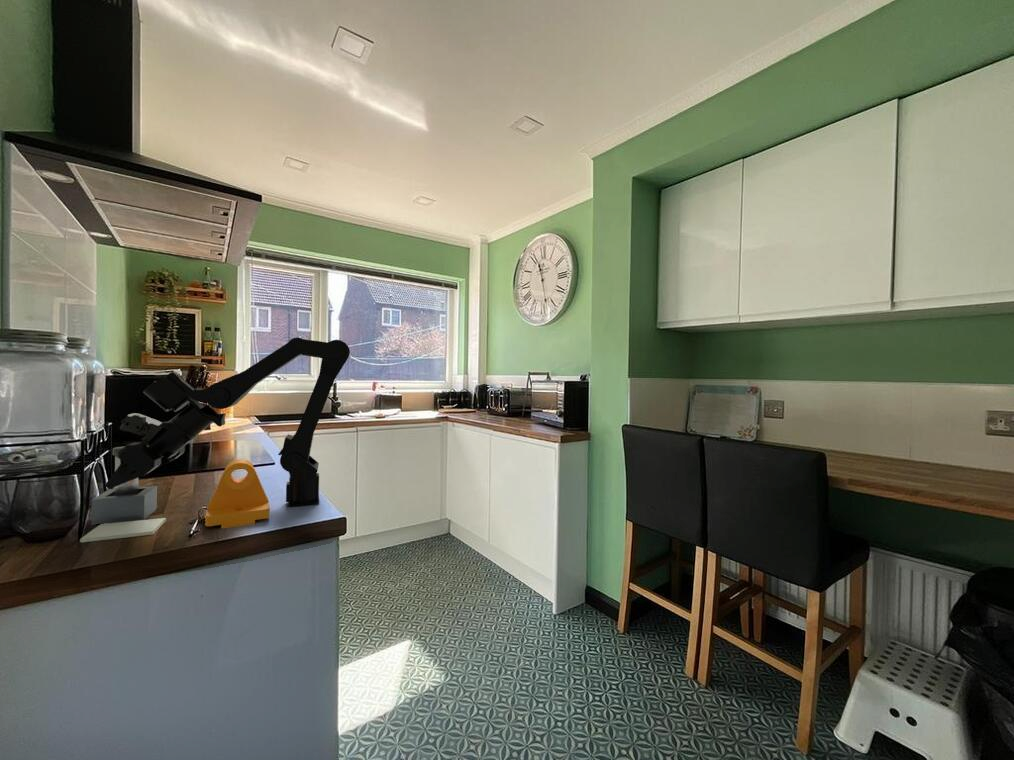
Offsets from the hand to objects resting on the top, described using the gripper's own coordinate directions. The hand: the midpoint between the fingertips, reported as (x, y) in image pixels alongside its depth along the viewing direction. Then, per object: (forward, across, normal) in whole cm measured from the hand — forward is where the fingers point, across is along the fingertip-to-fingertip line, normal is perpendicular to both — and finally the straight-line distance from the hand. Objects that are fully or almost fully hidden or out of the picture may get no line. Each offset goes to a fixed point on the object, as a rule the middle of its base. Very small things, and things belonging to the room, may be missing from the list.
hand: (118, 481), depth 86 cm
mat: (+2, +10, +9) cm, 13 cm away
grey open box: (+4, 0, +6) cm, 7 cm away
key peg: (+3, 0, +5) cm, 5 cm away
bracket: (-11, +10, +22) cm, 26 cm away
